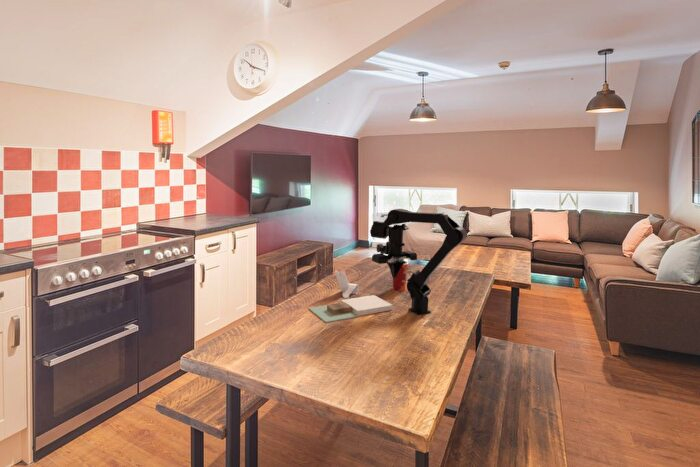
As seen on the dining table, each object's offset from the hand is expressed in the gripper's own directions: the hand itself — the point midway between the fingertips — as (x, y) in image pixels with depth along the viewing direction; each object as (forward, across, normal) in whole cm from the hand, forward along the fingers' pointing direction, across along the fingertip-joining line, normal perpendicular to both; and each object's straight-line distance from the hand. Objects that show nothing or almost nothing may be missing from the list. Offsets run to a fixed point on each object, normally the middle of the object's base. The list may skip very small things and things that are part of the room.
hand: (393, 277), depth 168 cm
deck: (+12, +11, -3) cm, 17 cm away
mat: (+12, +26, -3) cm, 29 cm away
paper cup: (+12, -16, -18) cm, 27 cm away
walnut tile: (+12, +23, -3) cm, 26 cm away
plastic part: (+12, +10, -22) cm, 27 cm away
